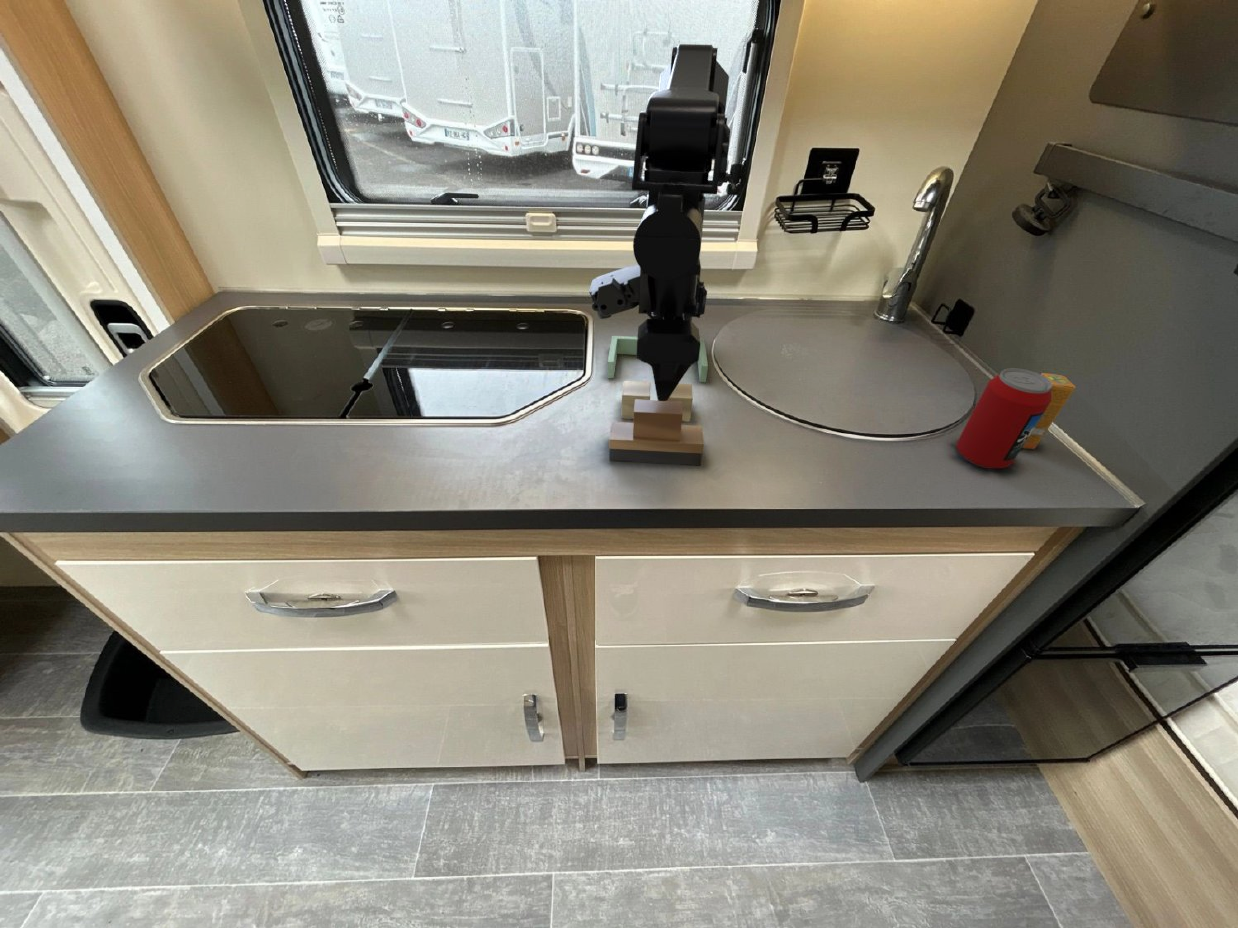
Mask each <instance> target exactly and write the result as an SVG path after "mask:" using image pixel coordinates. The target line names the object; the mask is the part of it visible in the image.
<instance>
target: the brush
mask: <svg viewBox="0 0 1238 928" xmlns="http://www.w3.org/2000/svg"><path fill="white" fill-rule="evenodd" d="M682 416H683V411H682V402H681V401H659V400H658V399H657V400H656V399H650V400H638V399H635V405H634V419H633V422H625V421H611V423H610V432H609V440H608V449H609V450H608V452H609V453H608V461H611V462H612V461H613V462H630V463H631V462H632V463H649V464H668V465H669V464H670V465H686V466H701V465H702V458H703V452H704V445H705V443H704V434H703V426H702V425H684V424H683V421H682Z"/></svg>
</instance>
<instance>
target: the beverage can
mask: <svg viewBox="0 0 1238 928" xmlns="http://www.w3.org/2000/svg"><path fill="white" fill-rule="evenodd" d="M1051 388H1052V383H1051V382H1050V381H1049V380H1048V379H1047V378H1046V377H1044V376H1042V375H1041V373H1038V372H1035V371H1032V370H1029V369H1025V368H1017V367H1016V368H1015V367H1010V368H1009V367H1008V368H1005V369H1002V370H1001V371H1000V373H999V374H997V375H995V376H994V377H992V378H991V379H990V380H989V381H988V383H987V384H986V386H985V388H984V389H983V392H982V393H981V396H980V397H979V399H978V401H977V402H976V405H975V407H974V408H973V411H972V412H971V414H970V416H969V418H968V420H967V422H966V424H965V426H964V428H963V430H962V432H961V433H960V436H959V438H958V440H957V442H956V450H957V452H958V453H960V455H961V456H962V457H963V458H964V459H965V460H966V461H968V462H969V463H971V464H973V465H975V466H978V467H980V468H986V469H1005V468H1008V467H1010V466H1011V465H1012V464H1013V463H1014V462H1015V460H1016V458H1017V456H1018V455H1019V453H1020V452H1021V450H1022V449H1023V448H1022V447H1023V445H1024V444H1025V442H1026V441H1027V439H1028V438H1029V436H1030V435H1031V433H1032V431H1033V430H1034V428H1035V427H1036V425H1037V423H1038V422H1039V420H1040V418H1041V417H1042V415H1043V414H1044V412H1045V410H1046V409H1047V407H1048V405H1049V404H1050V402H1051V400H1052V396H1051Z"/></svg>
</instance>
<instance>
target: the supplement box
mask: <svg viewBox="0 0 1238 928" xmlns="http://www.w3.org/2000/svg"><path fill="white" fill-rule="evenodd" d="M1040 375H1042V376H1044V377H1046V378H1047V379H1048V380H1049V381H1050V382H1051V383H1052V388H1051V396H1052V400H1051V402H1050V404H1049V405H1048V407H1047V409H1046V410H1045V412H1044V414H1043V415H1042V417H1041V418H1040V420H1039V422H1038V423H1037V425H1036V427H1035V428H1034V430H1033V431H1032V433H1031V435H1030V436H1029V438H1028V439H1027V441H1026V442H1025V444H1024V445H1023V447H1022V449H1026V450H1027V449H1029V450H1035V449H1036V447H1037V446H1038V445H1039V443H1040V441H1041V440H1042V438H1043V437H1044V435H1045V434H1046V432H1047V431H1048V430H1049V428H1050V427H1051V425H1052V424H1053V422H1054V421H1055V419H1056V418H1057V417H1058V415H1059V414H1060V412H1061V411H1062V409H1063V407H1064V406H1065V405H1066V403H1067V402H1068V400H1069V399H1070V397H1071V396H1072V394H1073V392H1074V391H1075V390H1076V389H1077V387H1076V385H1074V383H1072V382H1071V381H1070V380H1069V379H1068V378H1067V377H1066V376H1065V375H1061V374H1055V373H1047V372H1041V373H1040Z"/></svg>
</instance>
